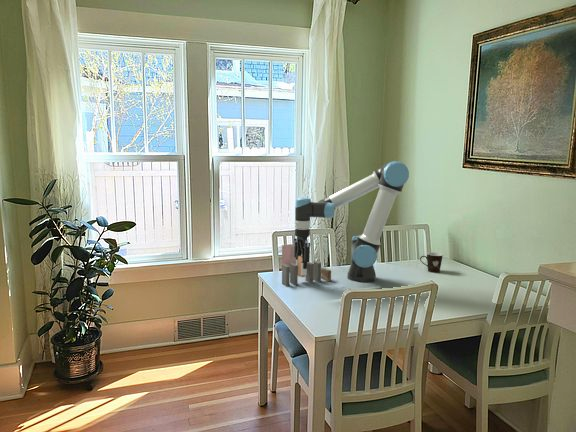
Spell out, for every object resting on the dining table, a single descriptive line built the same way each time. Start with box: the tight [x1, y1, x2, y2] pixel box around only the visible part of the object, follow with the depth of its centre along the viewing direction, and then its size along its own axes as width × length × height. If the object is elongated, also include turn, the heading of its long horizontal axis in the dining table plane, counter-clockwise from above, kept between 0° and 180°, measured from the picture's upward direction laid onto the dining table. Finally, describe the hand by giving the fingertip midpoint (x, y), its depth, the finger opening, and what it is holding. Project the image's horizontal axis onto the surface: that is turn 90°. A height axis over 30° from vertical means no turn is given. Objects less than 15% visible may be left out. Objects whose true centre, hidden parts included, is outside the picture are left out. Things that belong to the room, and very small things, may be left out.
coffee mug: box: [419, 252, 444, 274], centre depth 249 cm, size 12×9×10 cm
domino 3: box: [305, 261, 314, 284], centre depth 224 cm, size 2×5×10 cm, turn 25°
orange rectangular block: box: [298, 255, 306, 278], centre depth 221 cm, size 2×5×10 cm, turn 25°
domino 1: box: [281, 264, 290, 287], centre depth 218 cm, size 2×5×10 cm, turn 25°
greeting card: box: [281, 243, 297, 266], centre depth 243 cm, size 11×7×15 cm, turn 113°
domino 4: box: [312, 260, 322, 283], centre depth 226 cm, size 2×5×10 cm, turn 25°
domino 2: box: [289, 263, 299, 286], centre depth 220 cm, size 2×5×10 cm, turn 26°
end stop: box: [321, 266, 332, 283], centre depth 228 cm, size 2×7×6 cm, turn 25°
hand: (301, 273), depth 222 cm, fingers closed on orange rectangular block, 5 cm apart
